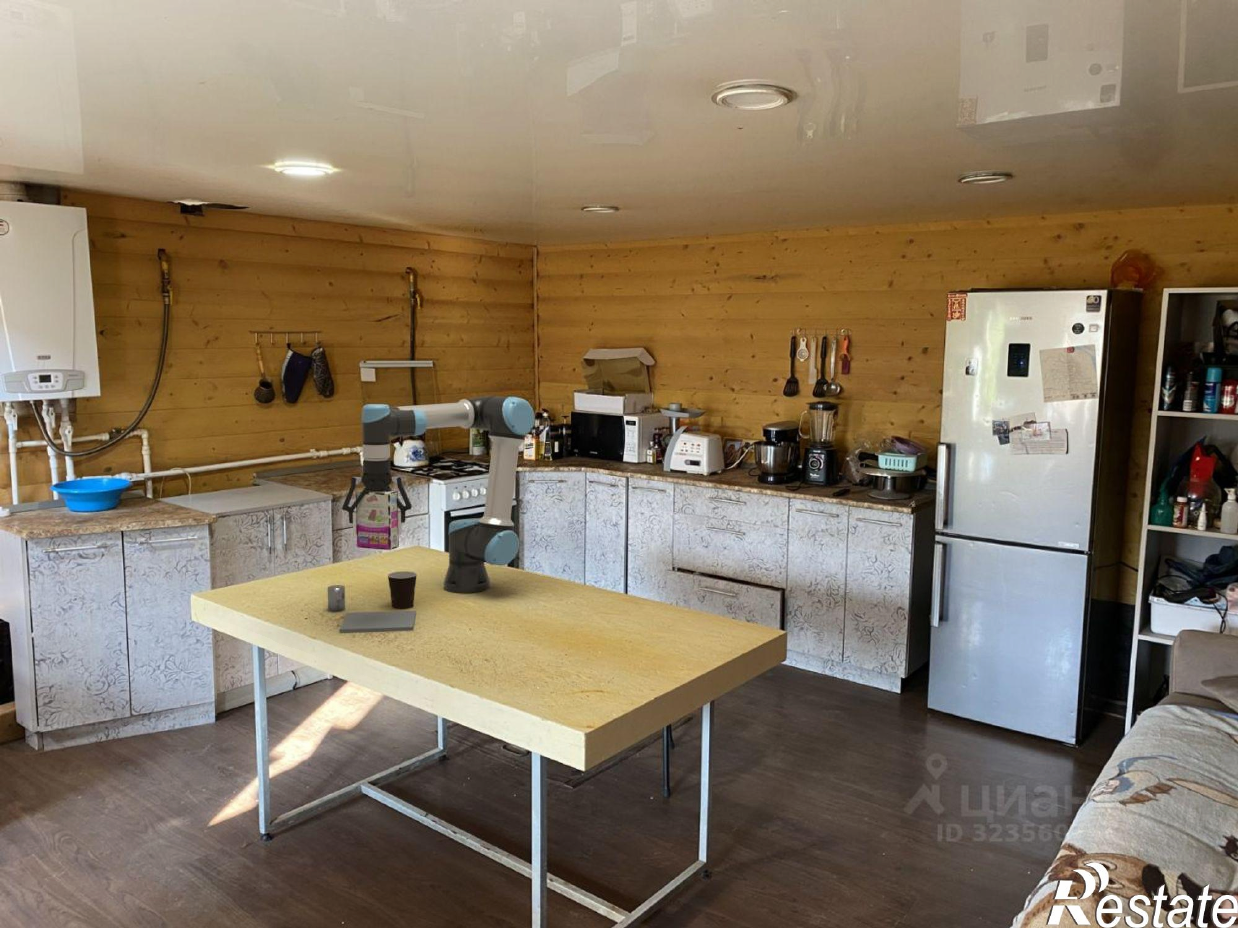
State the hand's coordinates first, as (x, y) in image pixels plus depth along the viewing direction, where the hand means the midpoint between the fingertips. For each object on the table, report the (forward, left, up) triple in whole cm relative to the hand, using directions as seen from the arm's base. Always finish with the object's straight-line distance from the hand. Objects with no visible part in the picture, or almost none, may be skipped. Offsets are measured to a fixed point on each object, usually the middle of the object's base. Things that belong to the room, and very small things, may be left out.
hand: (377, 534), depth 256 cm
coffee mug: (-6, -18, -26) cm, 33 cm away
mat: (0, 0, -26) cm, 26 cm away
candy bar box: (0, 0, -4) cm, 4 cm away
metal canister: (+14, -15, -26) cm, 33 cm away
